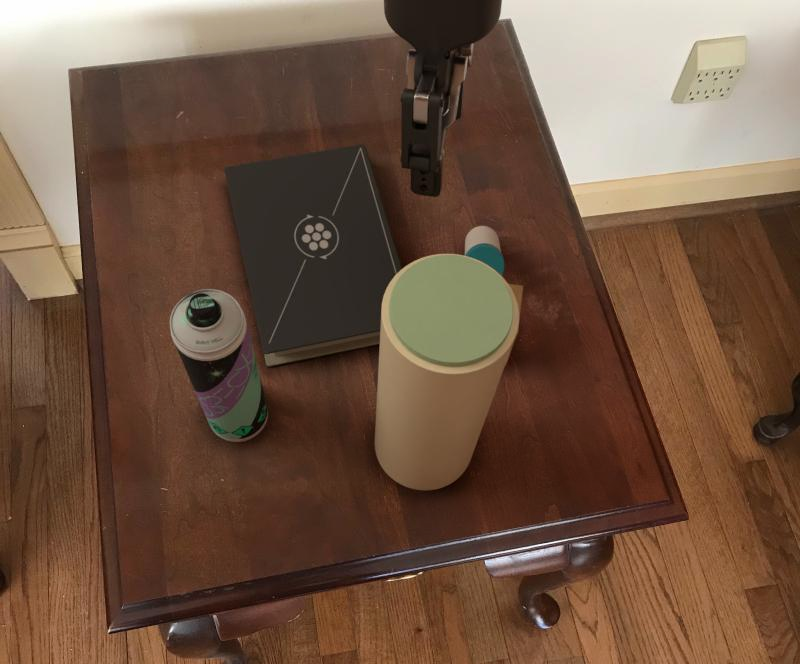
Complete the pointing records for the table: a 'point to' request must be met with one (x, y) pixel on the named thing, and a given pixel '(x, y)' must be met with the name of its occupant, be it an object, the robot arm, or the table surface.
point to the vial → (485, 247)
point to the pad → (450, 310)
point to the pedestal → (431, 405)
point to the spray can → (220, 363)
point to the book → (313, 251)
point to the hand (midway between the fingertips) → (437, 152)
